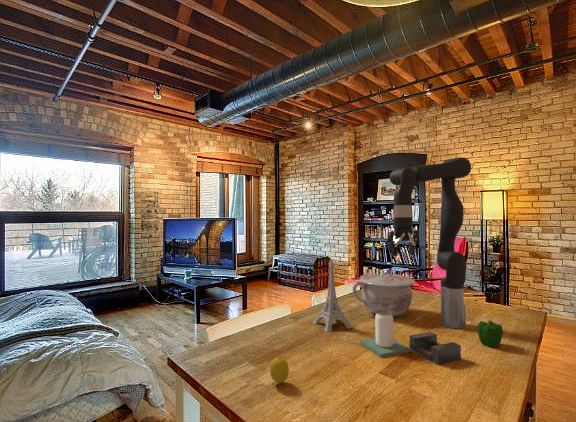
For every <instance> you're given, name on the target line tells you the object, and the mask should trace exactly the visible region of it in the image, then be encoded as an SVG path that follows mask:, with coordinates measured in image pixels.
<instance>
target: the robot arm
mask: <svg viewBox="0 0 576 422" xmlns="http://www.w3.org/2000/svg"><path fill="white" fill-rule="evenodd" d="M471 171H472V164H471V161H470V160H469V159H468V158H466V157H463V156H462V157H461V156H460V157H454V158H449V159H445V160H444V161H443V162H442V163H433V164H432V163H431V164H422V165H417V166H413V167H402V168H397V169H394V170H393V171H391V173H390V175H389V181H390V183H391V184H393V186H397V187H399V186H400V187H399V190H398V191H397V190H396V191H395V192H394V194H393V215H392V216H393V228H394V229H393V230H388V231H387V236H386V237H387V239H386V241H387V243H386V245H387V246H390V247H391V255H392V256H393V257H398V245H399V244H400V243H401V242H407V244H408V245H409V246H408V249H409V250H408V251H409V255H410V256H414V255H415V253H416V245H419V244H420V234H419V232H420V231H419V230H418V229H412V228H413V227H414V224H413V223H414V221H413V219H414V218H413V217H414V214H413V213H414V212H413V210H414V209H413V206H412V205H413V204H412V203H413V200H412V199H413V198H412V197H413V196H412V195H413V192H414V188H415V183H424V182H429V181H434V180H438V179H440V182H441V184H440V185H441V207H440V227H439V242H438V246H437V247H438V248H437V254H436V263H437V265H438V267H439V268H440V269H441V270H444V271H445V277H444V278H442V279H441V280H440V323H441V325H442V326H443V327H447V328H450V329H463V328H464V327H466V326H467V317H466V316H467V313H466V304H465V301H464V300H465V299H464V298H465V297H464V296H465V295H464V293H465V292H464V290H465V289H464V285H465V282H466V278H467V277H466V276H467V261H466V258H465V255H464V254H462V253H461V252H458V251H455V245H456V243H455V242H456V238H457V236H458V234H459V232H460V231H461V229H462V226H463V223H464V216H465V215H464V214H465V213H464V211H465V209H464V205H463V203H462V200H461V199H460V197H459V195H458V194H457V191H456V179H462V178H465V177H467V176H468V175H470V174H471Z"/></svg>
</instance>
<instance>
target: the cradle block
mask: <svg viewBox="0 0 576 422" xmlns="http://www.w3.org/2000/svg"><path fill="white" fill-rule="evenodd" d="M437 337H438V335H437V333H434V332H433V331H428V332H421V333H414V334H410V335H409V348H411V351H413V352H414V353H415V354H417V355H419V356H420V357H422V358H424V359H426V360H428V361H430V362H432V363H434V364H436V365H437V366H440V365H444V364H448V363H453V362H457V361H461V360H462V352H461V351H462V346H461V345H460V344H459V343H456V342H453V341H451V342H447V343H439V342H438V338H437ZM428 350H430V351H428Z"/></svg>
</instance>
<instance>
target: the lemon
mask: <svg viewBox="0 0 576 422" xmlns="http://www.w3.org/2000/svg"><path fill="white" fill-rule="evenodd" d="M289 370H290V369H289V365H288V362H287V360H286V359H285V358H284V357H281V356H278V357H275V358H274V359H273V360H272V361H271V364H270V369H269V372H270V373H269V374H270V376H271V377H270V378H271V379H272V381H274V382H276V383H278V385H280V384H282V383H283V382H285V381H286V380H287V378H288V376H289Z"/></svg>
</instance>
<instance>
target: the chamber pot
mask: <svg viewBox="0 0 576 422" xmlns="http://www.w3.org/2000/svg"><path fill="white" fill-rule="evenodd" d="M415 284H416V280H414V279H413V278H411V277H408V276H403V275H397V274H392V272H389V271H384V272H382V273H378V274H377V273H376V274H375V273H374V274H368V275H364V276H361V277H359V279H358V280H357V281H356V282H354V283H353V286H352V291H351V292H352V294H353V296H354V298H356V299H357V300H358V301H360V302H361V303H363V305H364V306H365V307H366V308H367V309H368V310H369V312H371V313H372V314H375V315H376V314H377V311H379V310H386V311H390V312H392V316H393V318H394V317H399V316H402V315H404V314H406V313H407V311H408V309H409V308H410V307H411V305H412V302H413V301H412V300H413V290H412V288H411V286H413V285H415ZM358 286H360V287H361V296H362V298H361V297H360V296H359V295H358V294H357V287H358Z"/></svg>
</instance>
